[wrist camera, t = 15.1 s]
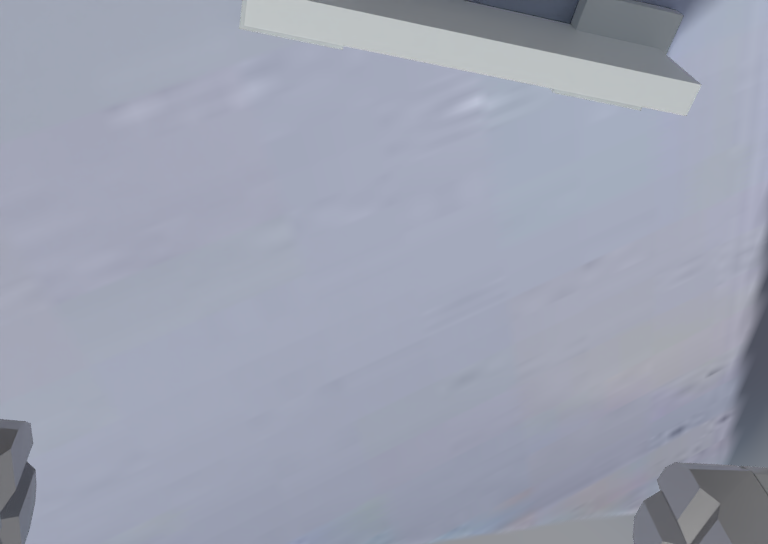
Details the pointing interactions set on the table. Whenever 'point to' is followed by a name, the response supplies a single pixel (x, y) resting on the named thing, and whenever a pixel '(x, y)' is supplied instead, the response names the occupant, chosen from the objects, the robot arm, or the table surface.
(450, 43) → the acrylic wall
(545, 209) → the table surface
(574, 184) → the table surface
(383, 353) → the table surface
